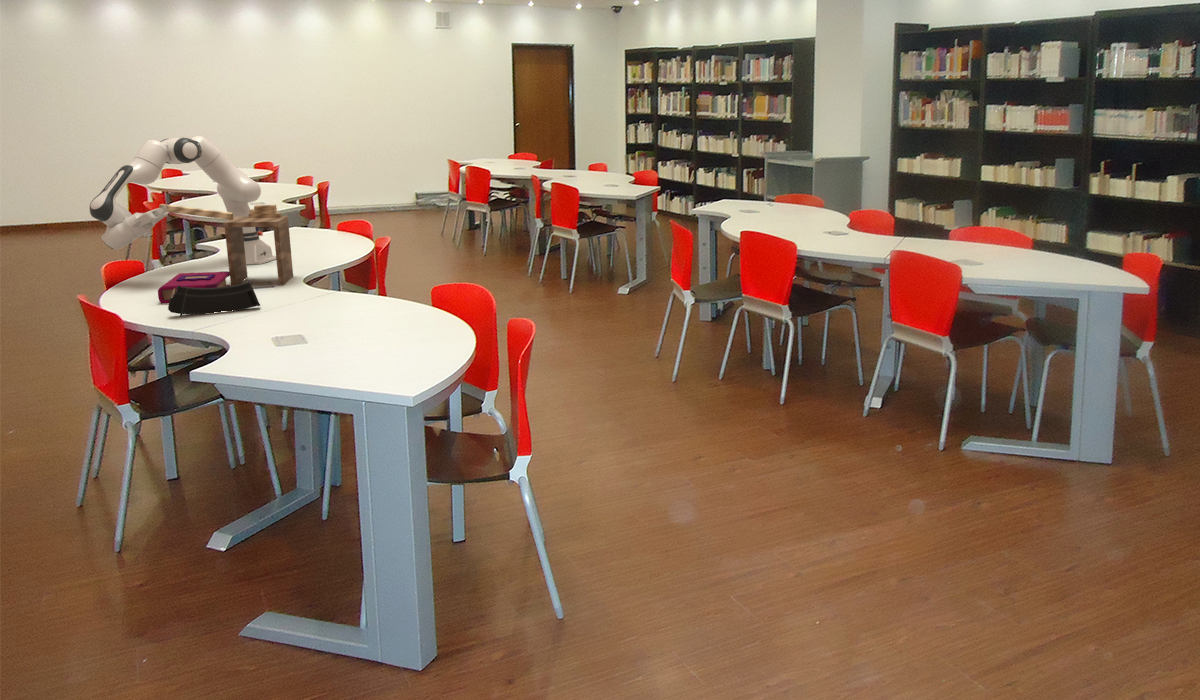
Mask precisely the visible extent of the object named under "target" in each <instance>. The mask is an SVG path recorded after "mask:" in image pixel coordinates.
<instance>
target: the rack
mask: <svg viewBox="0 0 1200 700" xmlns="http://www.w3.org/2000/svg"><path fill="white" fill-rule="evenodd" d="M250 209H251V210H250V214H248V215H249V216H241V217H235V218H233V219H232V220H226V221H225V222H223V225H224V226H223V227H224V233H225V236H224V237H225V244H226V252H227V253H226V254H227V262H228V271H229V272H230V276H229V279H230V280H229V281H230V285H231V286H233V285H238V284H239V283H240V282H241V283H243V282H244V281H245V280H246V279H248V277H249V276H248V268H247V265H246V257H245V247H244V237H243V228H242V227H255V228H271V227H272V228H273V237H274V238H273V239H274V248H275V249H274V250H275V256H276V259H275V260H276V269H277V270H276V271H277V280H278V282H277V283H278V285H279V286H284V285H286V284H287V283H288V282H289V281H290V280H291V279H293V278H294V270H293V259H292V249H291V236H290V235H291V234H290V226H289V215H282V212H281V211H278V208H277V204H256V205H254V206H253V208H250ZM244 279H245V280H244ZM243 280H244V281H243ZM241 283H240V284H241Z"/></svg>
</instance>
